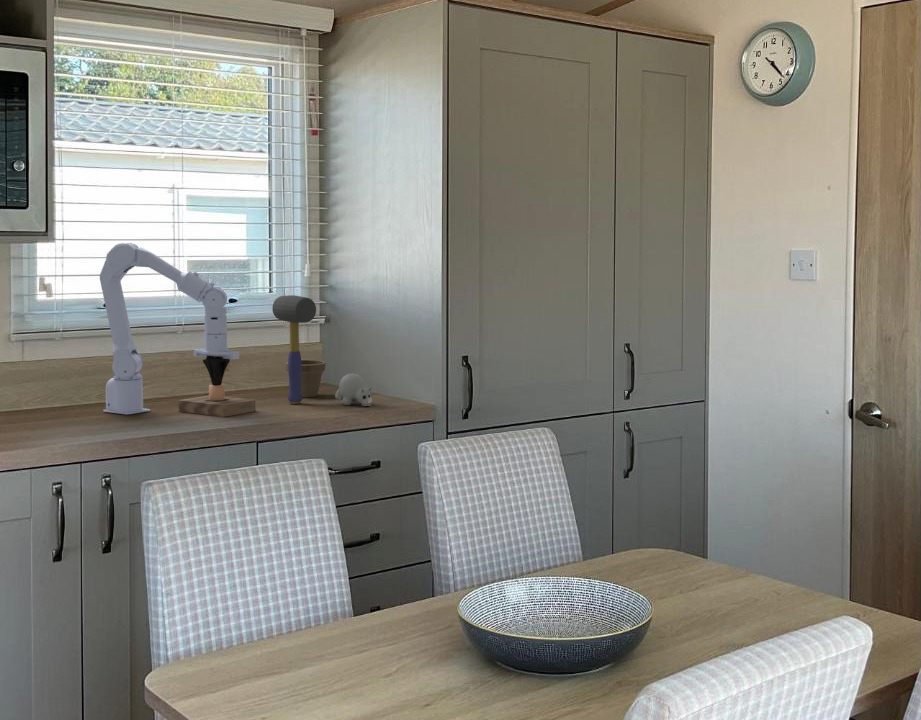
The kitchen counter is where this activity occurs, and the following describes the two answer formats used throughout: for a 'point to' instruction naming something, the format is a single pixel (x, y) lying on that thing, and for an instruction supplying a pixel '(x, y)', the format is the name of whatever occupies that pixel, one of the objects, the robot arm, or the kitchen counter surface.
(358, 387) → the chubby cartoon animal
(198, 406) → the socket board
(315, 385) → the flower pot
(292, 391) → the rubber mallet
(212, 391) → the peg
